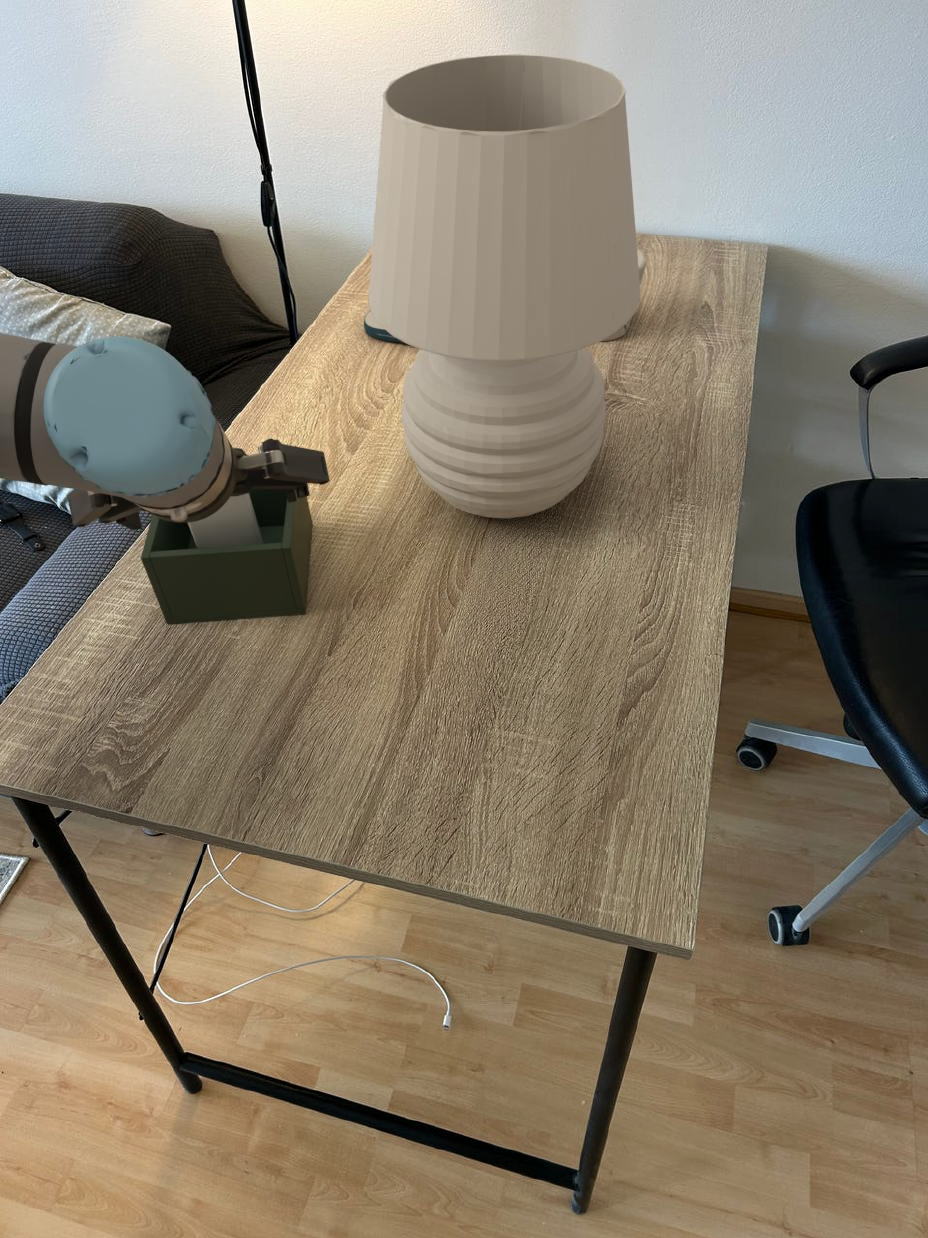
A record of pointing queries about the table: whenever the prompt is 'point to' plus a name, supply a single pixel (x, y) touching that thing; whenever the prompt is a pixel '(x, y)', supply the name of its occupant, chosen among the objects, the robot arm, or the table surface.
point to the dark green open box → (233, 566)
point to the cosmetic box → (228, 525)
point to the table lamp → (504, 269)
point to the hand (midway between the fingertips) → (213, 500)
